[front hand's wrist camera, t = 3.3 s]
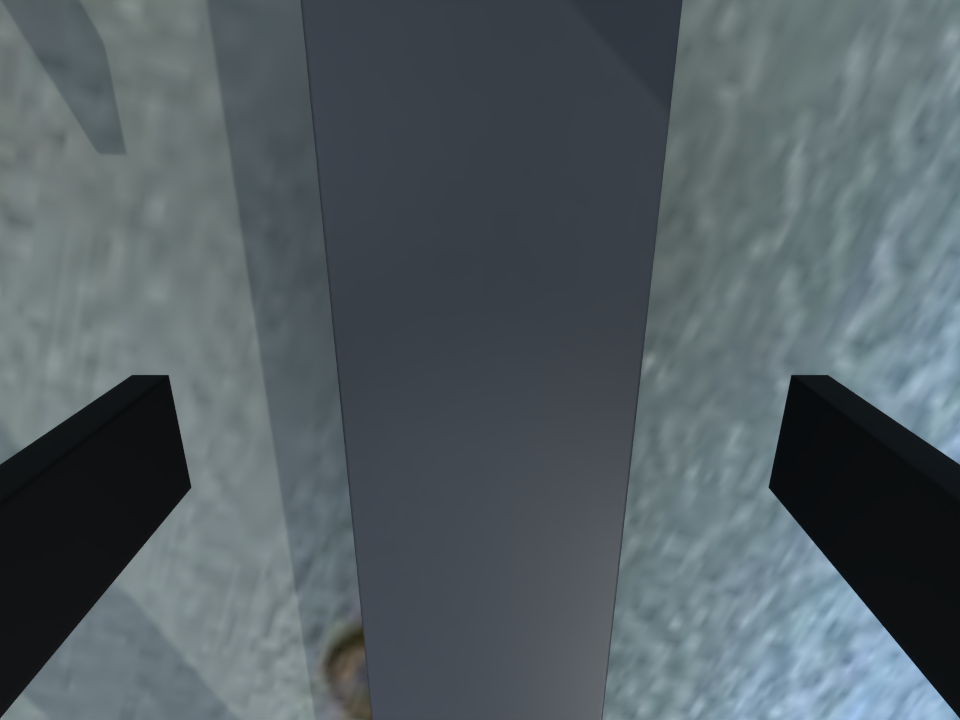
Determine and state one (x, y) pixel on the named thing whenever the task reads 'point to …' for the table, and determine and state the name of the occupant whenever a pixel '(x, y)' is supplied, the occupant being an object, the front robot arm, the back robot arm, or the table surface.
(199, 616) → the table surface
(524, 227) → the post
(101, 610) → the table surface
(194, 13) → the table surface
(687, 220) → the table surface
